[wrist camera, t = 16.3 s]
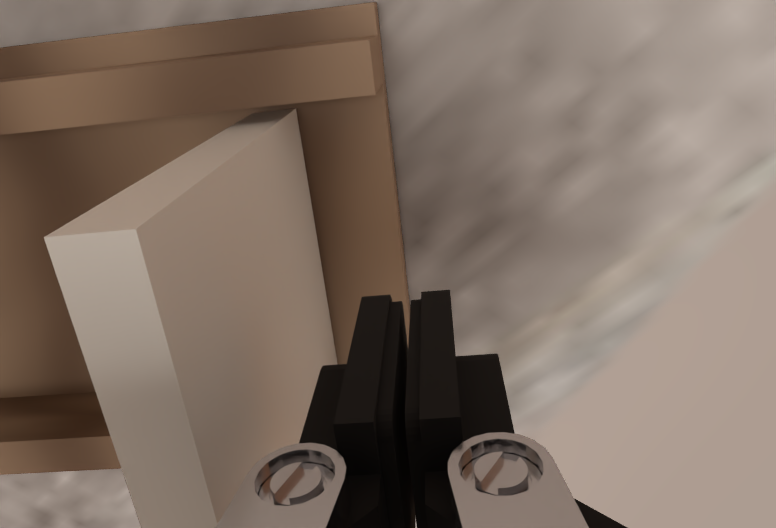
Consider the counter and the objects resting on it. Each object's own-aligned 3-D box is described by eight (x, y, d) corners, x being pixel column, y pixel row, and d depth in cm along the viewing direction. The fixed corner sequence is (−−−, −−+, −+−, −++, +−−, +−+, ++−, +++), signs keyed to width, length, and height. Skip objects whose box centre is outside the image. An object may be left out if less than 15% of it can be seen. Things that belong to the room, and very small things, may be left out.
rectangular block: (301, 371, 20) (193, 682, 11) (252, 112, 17) (43, 237, 8) (338, 369, 20) (261, 681, 11) (295, 108, 17) (136, 229, 8)
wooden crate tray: (-154, 439, 24) (-331, 570, 18) (-339, 89, 19) (-657, 123, 13) (420, 405, 22) (418, 541, 16) (376, 2, 17) (351, -1, 11)
